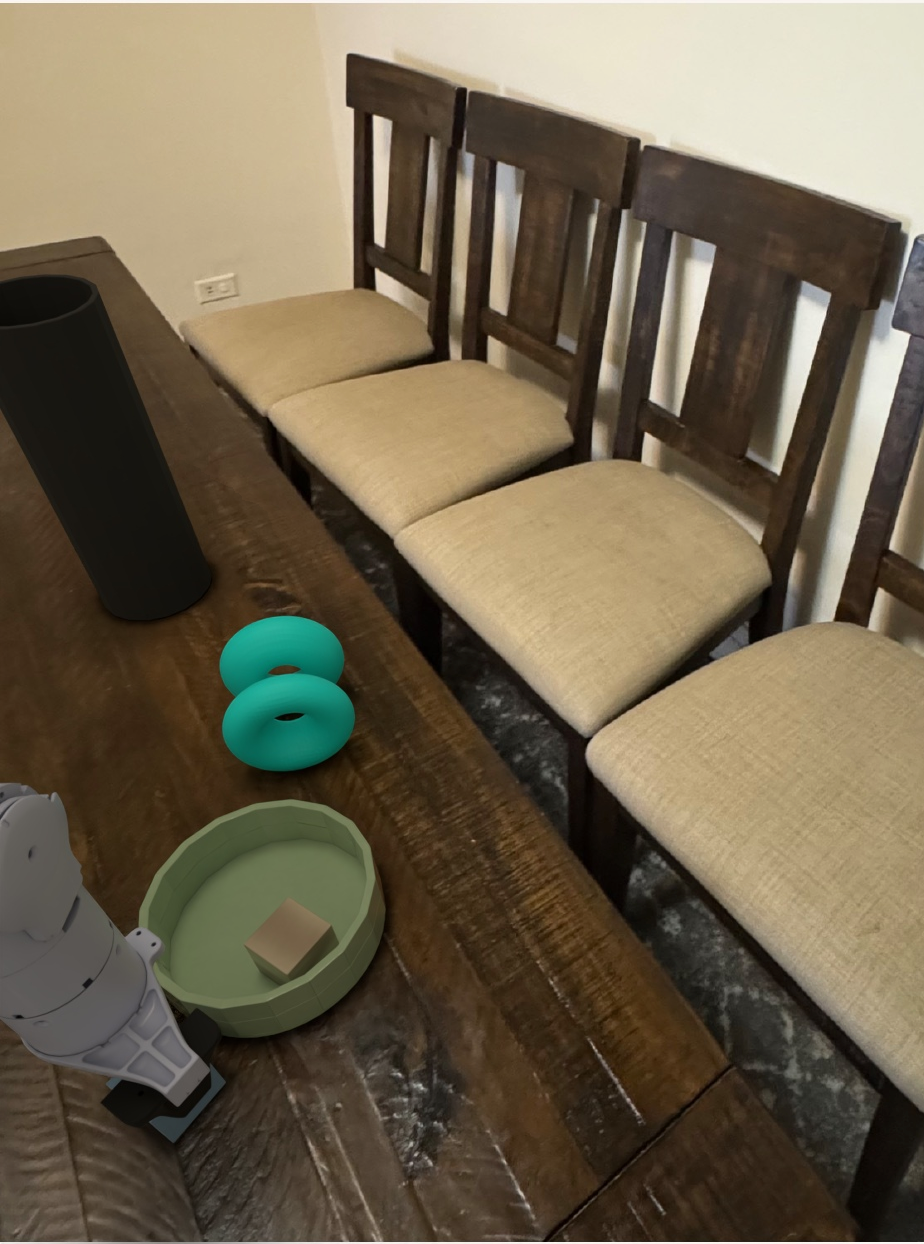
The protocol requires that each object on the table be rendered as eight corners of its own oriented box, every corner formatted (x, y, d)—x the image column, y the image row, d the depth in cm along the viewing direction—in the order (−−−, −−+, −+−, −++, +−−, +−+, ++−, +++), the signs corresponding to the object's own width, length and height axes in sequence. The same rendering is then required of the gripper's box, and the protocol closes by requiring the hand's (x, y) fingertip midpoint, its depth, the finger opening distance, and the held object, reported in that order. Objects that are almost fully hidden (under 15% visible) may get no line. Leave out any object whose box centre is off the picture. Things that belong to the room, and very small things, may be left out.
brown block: (301, 1001, 58) (287, 975, 55) (258, 970, 59) (242, 944, 56) (343, 951, 60) (331, 924, 57) (301, 923, 61) (288, 896, 59)
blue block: (173, 1143, 52) (150, 1122, 49) (130, 1106, 53) (105, 1083, 50) (226, 1082, 54) (207, 1059, 51) (183, 1048, 56) (162, 1023, 53)
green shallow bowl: (274, 1085, 54) (253, 1056, 51) (115, 962, 60) (86, 928, 56) (429, 896, 64) (420, 861, 60) (280, 805, 69) (264, 768, 66)
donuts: (351, 677, 79) (329, 598, 73) (366, 759, 73) (344, 680, 66) (237, 703, 77) (203, 623, 70) (242, 791, 70) (205, 712, 63)
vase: (101, 631, 83) (-61, 336, 62) (105, 568, 89) (-40, 282, 69) (214, 607, 86) (96, 318, 65) (210, 547, 92) (101, 268, 72)
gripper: (222, 965, 41) (290, 1067, 50) (32, 826, 46) (126, 943, 55) (88, 1105, 36) (191, 1188, 46) (-106, 934, 41) (22, 1041, 51)
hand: (149, 1061), depth 50 cm, fingers open, 7 cm apart
